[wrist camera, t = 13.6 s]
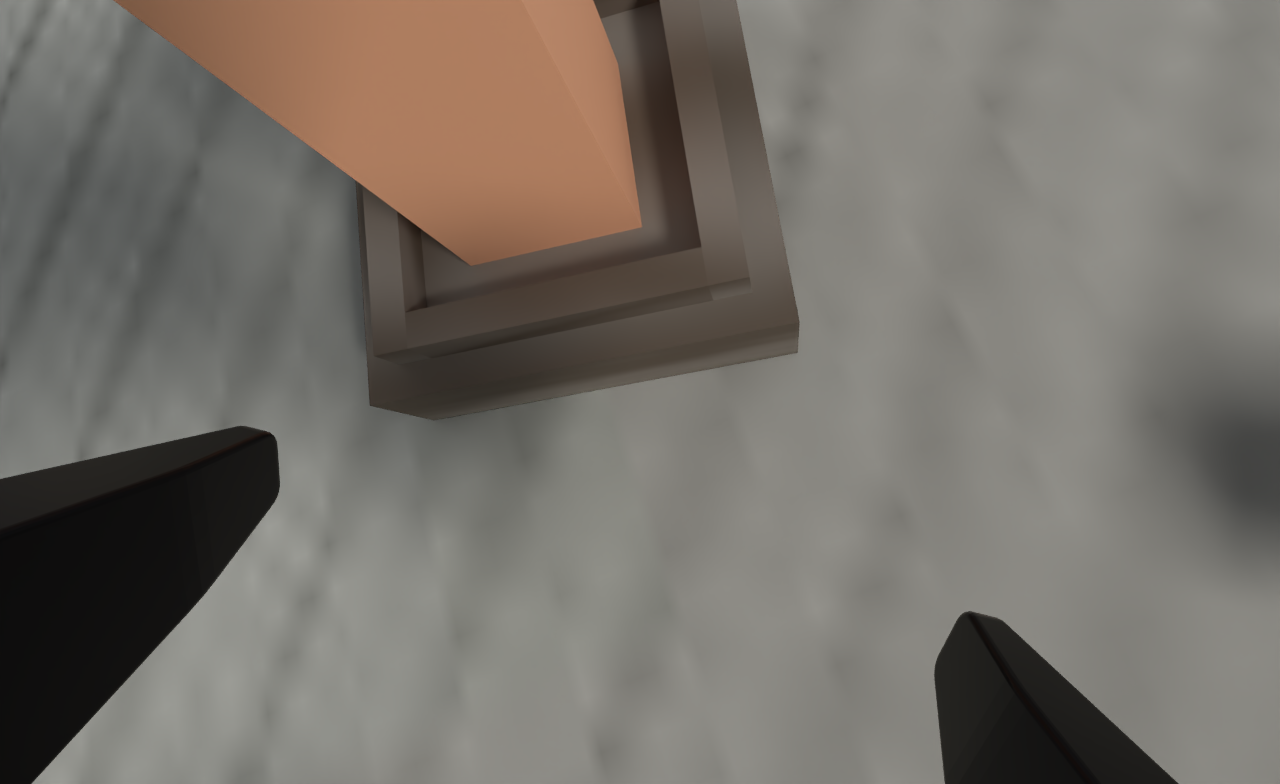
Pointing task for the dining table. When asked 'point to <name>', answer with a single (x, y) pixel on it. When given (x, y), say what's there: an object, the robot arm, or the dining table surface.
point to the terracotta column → (437, 106)
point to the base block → (603, 250)
